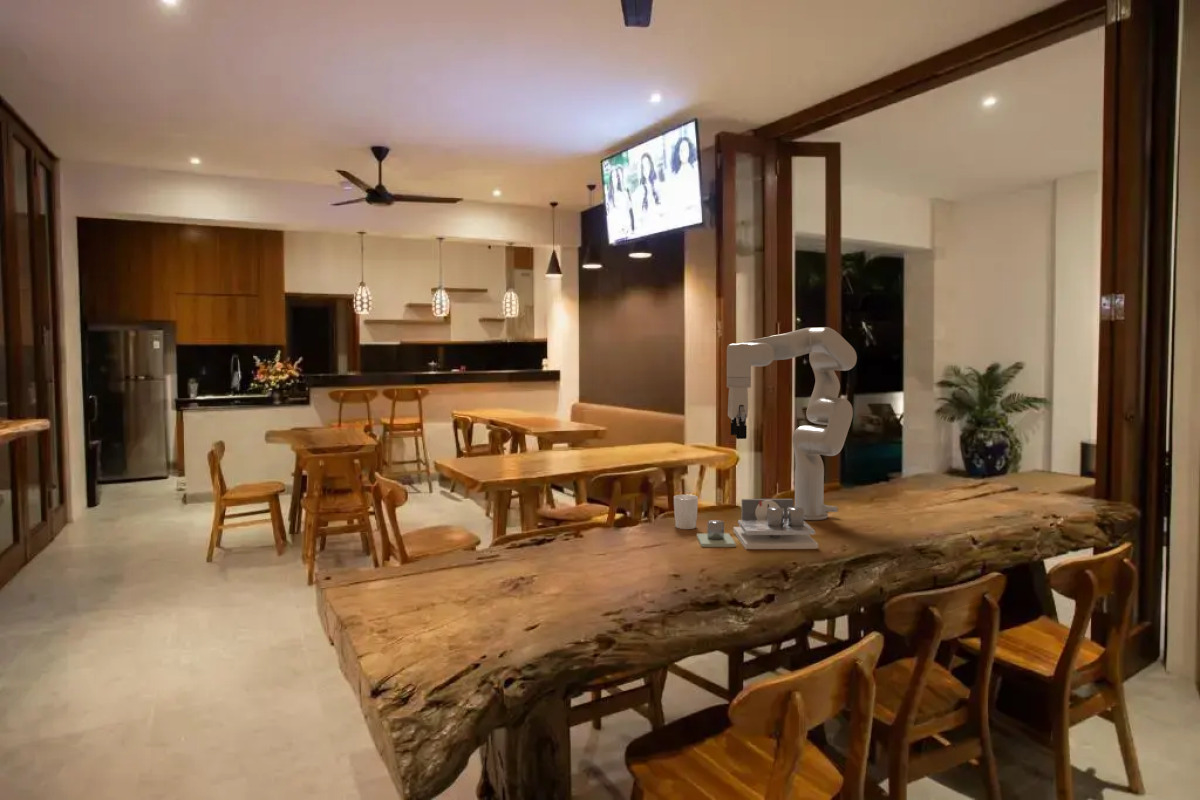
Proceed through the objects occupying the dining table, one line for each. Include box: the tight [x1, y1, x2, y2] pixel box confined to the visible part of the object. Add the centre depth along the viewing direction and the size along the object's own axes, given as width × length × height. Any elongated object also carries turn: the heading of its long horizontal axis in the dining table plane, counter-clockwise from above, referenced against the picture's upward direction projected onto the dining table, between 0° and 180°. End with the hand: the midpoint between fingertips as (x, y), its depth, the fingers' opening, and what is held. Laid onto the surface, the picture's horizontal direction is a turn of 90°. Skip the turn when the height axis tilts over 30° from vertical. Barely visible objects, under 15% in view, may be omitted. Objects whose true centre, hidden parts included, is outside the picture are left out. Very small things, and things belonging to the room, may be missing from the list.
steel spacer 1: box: [767, 507, 784, 527], centre depth 226 cm, size 5×5×5 cm
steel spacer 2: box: [787, 506, 805, 527], centre depth 226 cm, size 5×5×5 cm
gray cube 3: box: [706, 519, 725, 541], centre depth 227 cm, size 5×5×5 cm
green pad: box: [696, 532, 737, 548], centre depth 227 cm, size 10×12×1 cm
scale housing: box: [732, 498, 819, 550], centre depth 229 cm, size 21×21×10 cm
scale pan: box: [737, 519, 816, 536], centre depth 227 cm, size 20×14×1 cm
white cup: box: [673, 494, 699, 530], centre depth 246 cm, size 8×8×10 cm
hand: (738, 436), depth 238 cm, fingers open, 9 cm apart
